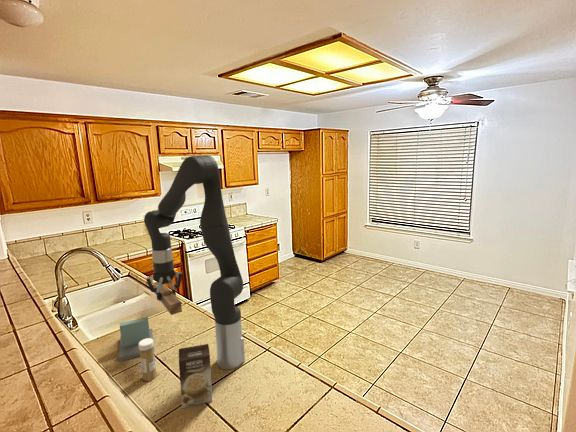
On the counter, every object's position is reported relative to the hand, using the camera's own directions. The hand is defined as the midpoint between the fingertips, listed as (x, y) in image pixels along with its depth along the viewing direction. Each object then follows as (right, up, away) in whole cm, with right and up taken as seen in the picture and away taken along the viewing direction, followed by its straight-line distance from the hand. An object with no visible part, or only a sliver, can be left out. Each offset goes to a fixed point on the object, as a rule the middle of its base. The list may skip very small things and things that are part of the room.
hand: (166, 298), depth 122 cm
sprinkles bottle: (+2, -22, -20) cm, 29 cm away
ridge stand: (-11, -18, -2) cm, 21 cm away
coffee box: (+21, -23, -29) cm, 43 cm away
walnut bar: (0, -1, 0) cm, 1 cm away
